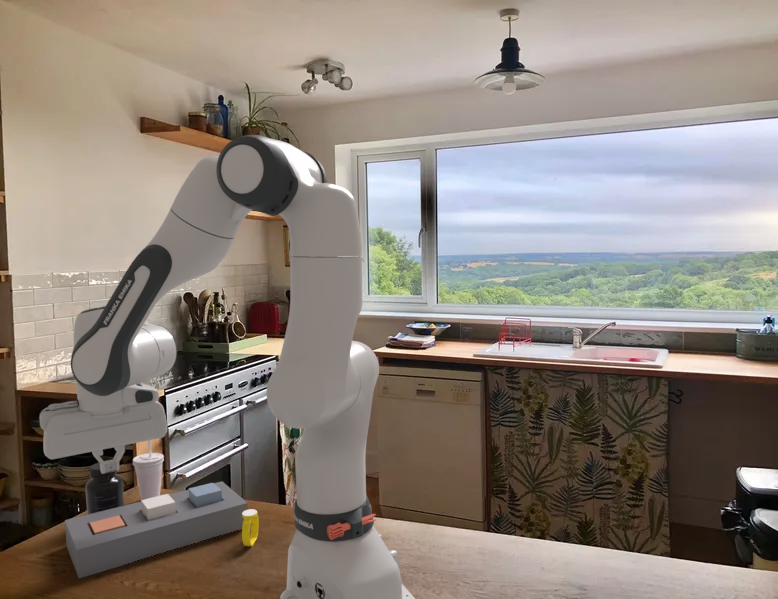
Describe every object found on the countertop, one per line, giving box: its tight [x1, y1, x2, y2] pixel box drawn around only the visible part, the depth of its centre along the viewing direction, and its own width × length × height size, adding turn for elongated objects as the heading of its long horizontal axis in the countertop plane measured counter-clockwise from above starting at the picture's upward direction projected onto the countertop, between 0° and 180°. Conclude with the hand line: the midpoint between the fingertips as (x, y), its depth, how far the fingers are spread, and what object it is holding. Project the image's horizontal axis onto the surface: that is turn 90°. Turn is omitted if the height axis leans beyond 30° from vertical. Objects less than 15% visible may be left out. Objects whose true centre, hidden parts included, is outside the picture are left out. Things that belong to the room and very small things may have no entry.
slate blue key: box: [187, 482, 222, 508], centre depth 119 cm, size 5×5×4 cm
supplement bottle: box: [84, 462, 125, 515], centre depth 121 cm, size 7×7×12 cm
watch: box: [241, 508, 260, 547], centre depth 111 cm, size 6×3×6 cm, turn 176°
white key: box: [140, 493, 176, 521], centre depth 114 cm, size 5×5×4 cm
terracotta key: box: [90, 515, 125, 535], centre depth 109 cm, size 5×5×4 cm
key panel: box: [64, 481, 249, 579], centre depth 114 cm, size 30×14×5 cm, turn 126°
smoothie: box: [132, 440, 165, 501], centre depth 131 cm, size 6×6×14 cm
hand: (110, 471), depth 109 cm, fingers closed
